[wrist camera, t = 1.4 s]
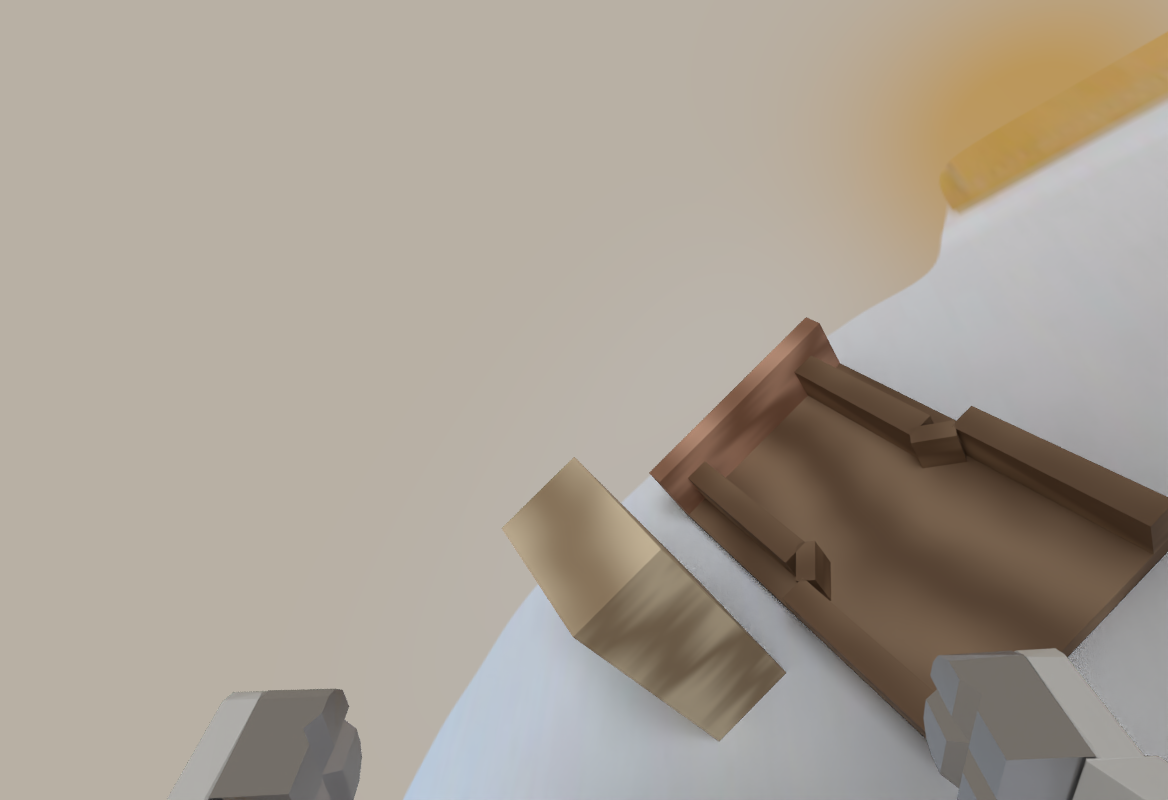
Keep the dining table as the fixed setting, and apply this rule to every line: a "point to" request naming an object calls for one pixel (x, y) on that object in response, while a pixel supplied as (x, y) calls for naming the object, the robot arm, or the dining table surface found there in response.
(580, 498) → the panel block
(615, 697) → the dining table surface
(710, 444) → the channel
